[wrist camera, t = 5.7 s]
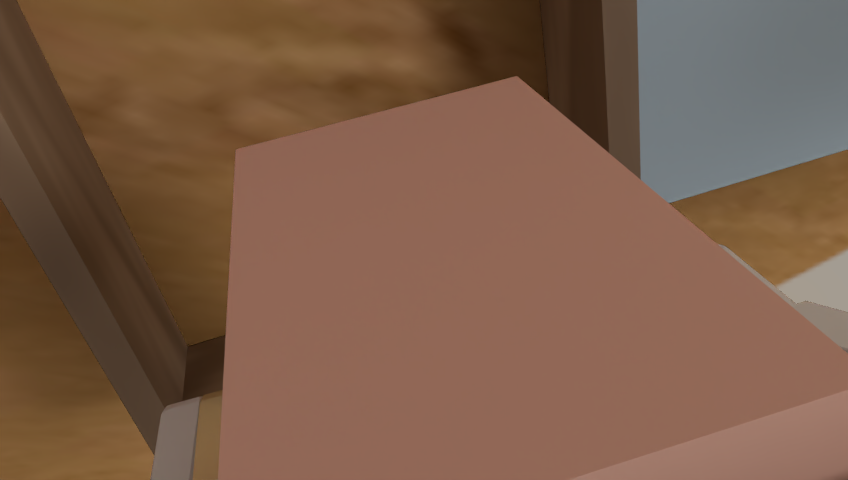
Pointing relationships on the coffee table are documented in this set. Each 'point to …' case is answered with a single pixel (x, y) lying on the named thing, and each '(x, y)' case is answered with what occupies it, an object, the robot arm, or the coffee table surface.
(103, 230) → the wooden frame
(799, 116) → the mat
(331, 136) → the block
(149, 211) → the coffee table surface
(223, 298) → the coffee table surface
